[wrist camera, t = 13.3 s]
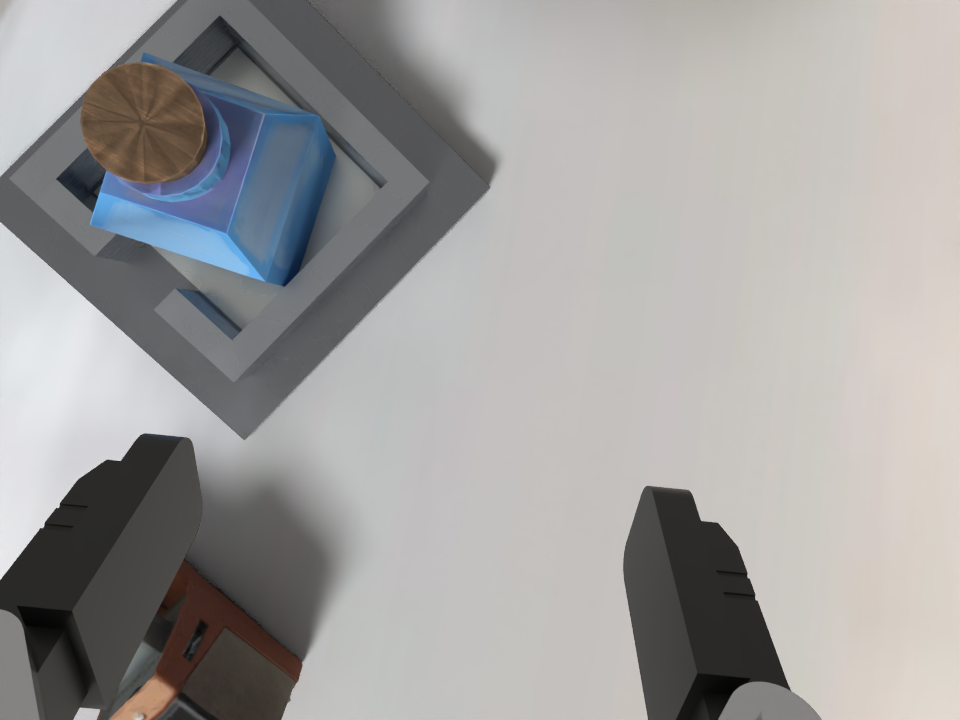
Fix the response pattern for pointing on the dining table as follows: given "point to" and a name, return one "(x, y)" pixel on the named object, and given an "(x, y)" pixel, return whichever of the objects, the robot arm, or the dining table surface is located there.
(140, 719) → the electronic device
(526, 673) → the dining table surface
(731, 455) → the dining table surface
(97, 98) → the perfume bottle
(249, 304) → the grey square frame
